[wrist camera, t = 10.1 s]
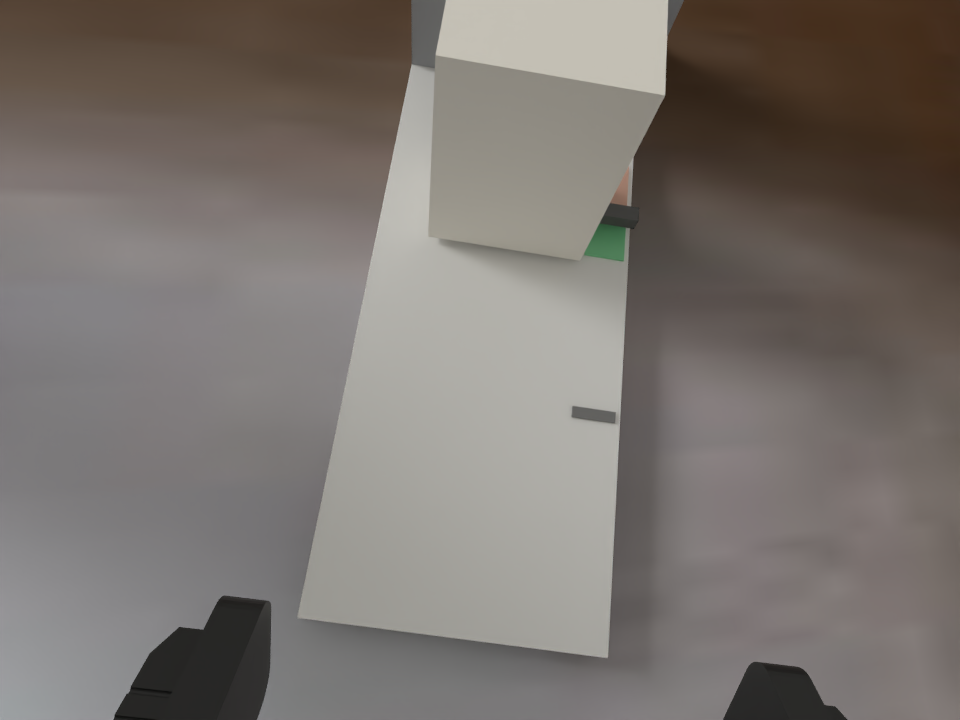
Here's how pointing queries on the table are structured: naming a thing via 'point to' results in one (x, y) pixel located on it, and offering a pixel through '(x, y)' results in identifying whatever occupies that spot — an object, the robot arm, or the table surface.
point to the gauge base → (475, 424)
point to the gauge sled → (541, 118)
